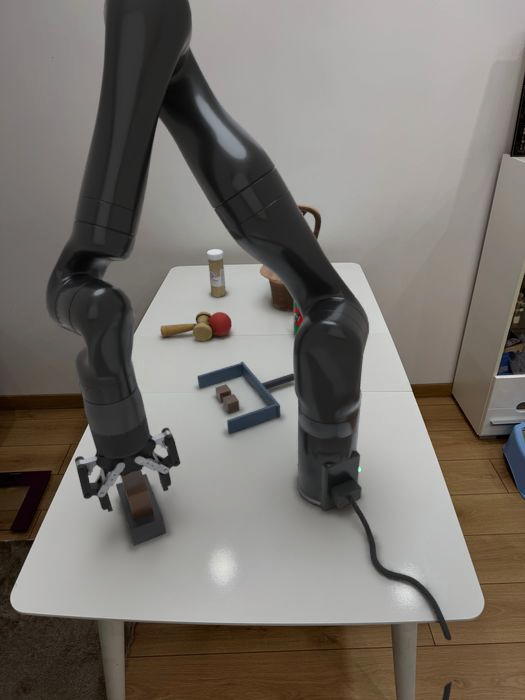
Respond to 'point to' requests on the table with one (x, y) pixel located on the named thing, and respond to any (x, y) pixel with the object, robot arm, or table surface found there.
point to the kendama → (202, 326)
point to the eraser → (140, 507)
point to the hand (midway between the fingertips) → (137, 497)
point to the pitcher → (278, 289)
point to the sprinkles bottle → (216, 272)
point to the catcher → (259, 387)
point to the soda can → (296, 317)
